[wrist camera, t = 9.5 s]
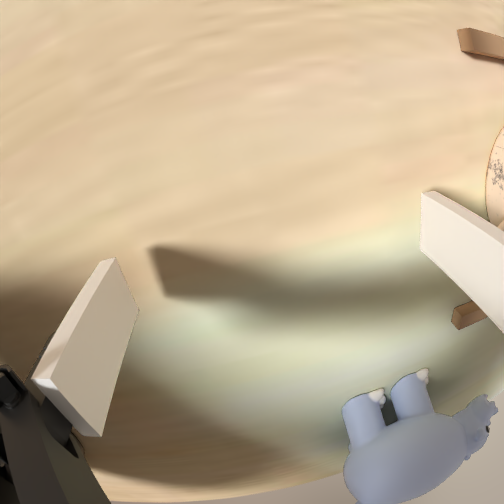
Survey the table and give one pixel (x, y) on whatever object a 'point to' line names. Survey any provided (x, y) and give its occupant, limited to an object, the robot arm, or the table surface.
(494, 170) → the teacup with lid
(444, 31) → the table surface
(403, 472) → the hippopotamus toy
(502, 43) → the track
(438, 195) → the robot arm
